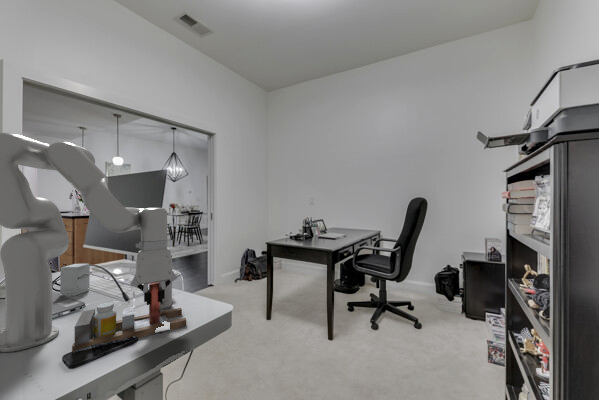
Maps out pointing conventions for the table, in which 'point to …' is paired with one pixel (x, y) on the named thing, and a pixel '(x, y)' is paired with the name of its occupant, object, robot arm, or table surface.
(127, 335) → the vise bench
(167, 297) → the travel mug
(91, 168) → the robot arm
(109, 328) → the supplement bottle
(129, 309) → the vise slider
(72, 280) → the supplement box
